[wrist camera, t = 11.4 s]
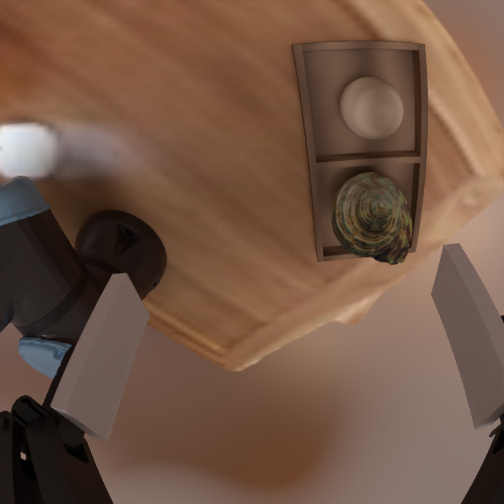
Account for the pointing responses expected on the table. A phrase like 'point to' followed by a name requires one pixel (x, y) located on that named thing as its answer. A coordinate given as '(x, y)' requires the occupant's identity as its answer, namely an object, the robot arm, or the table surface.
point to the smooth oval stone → (371, 108)
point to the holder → (349, 143)
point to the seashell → (372, 218)
